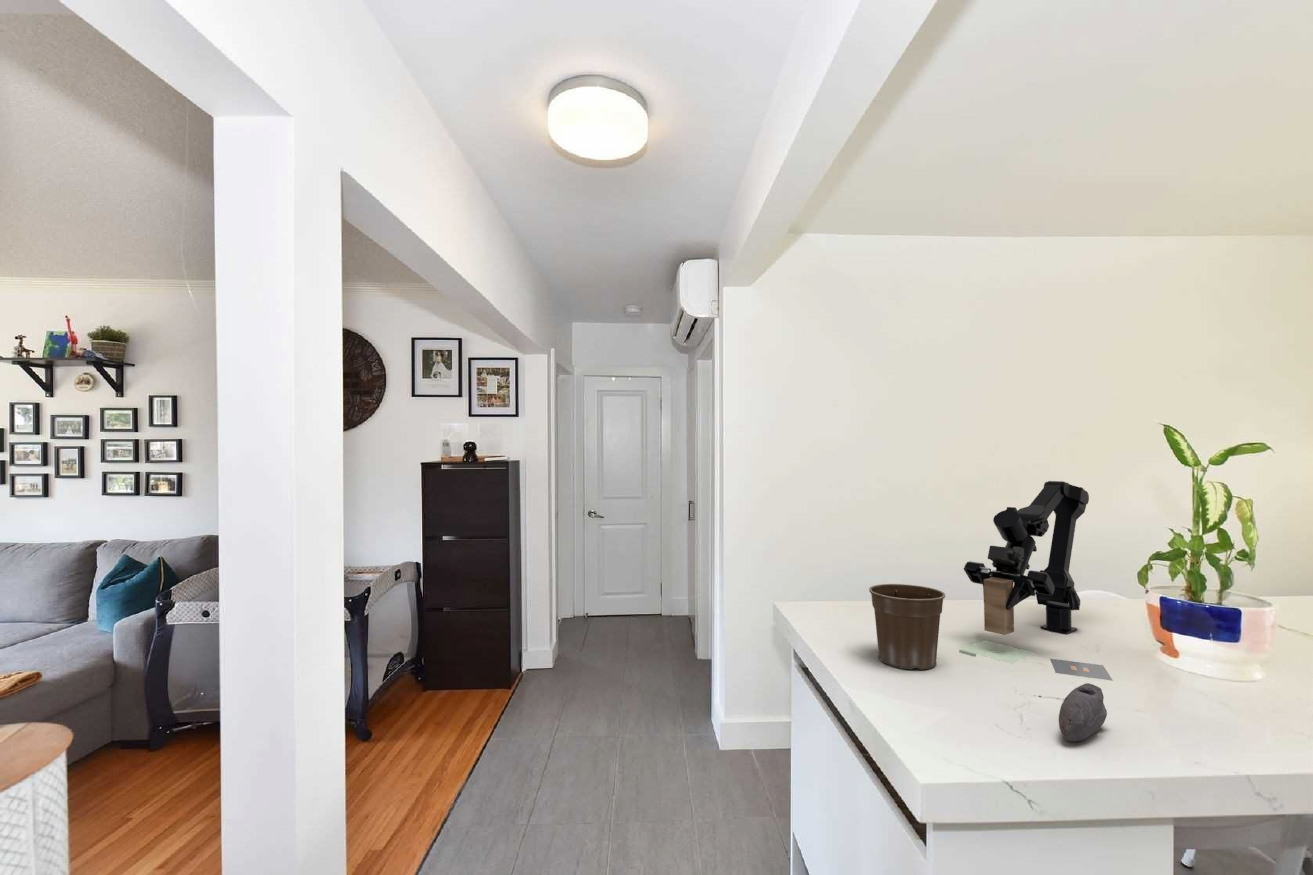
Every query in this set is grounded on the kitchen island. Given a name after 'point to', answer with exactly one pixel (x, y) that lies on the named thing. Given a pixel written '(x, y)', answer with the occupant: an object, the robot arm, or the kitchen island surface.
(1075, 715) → the perforated stone tool
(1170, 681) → the kitchen island surface
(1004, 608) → the walnut post
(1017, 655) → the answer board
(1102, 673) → the plate
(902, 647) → the plant pot
